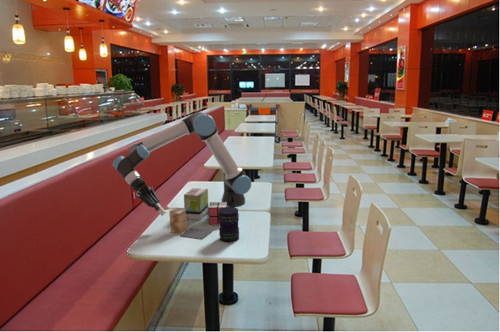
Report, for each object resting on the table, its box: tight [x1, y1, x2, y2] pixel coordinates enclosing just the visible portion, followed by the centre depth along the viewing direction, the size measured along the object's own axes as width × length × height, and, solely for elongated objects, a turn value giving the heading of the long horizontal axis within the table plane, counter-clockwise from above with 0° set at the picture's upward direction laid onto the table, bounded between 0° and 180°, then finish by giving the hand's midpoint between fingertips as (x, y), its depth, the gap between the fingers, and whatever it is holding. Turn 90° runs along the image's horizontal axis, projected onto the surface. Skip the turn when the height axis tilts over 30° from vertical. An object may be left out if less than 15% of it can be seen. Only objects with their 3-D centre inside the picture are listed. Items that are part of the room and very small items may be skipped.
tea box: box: [183, 187, 209, 221], centre depth 230 cm, size 15×10×15 cm
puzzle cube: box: [208, 201, 229, 226], centre depth 220 cm, size 10×10×10 cm
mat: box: [179, 227, 213, 240], centre depth 204 cm, size 13×11×1 cm
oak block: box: [168, 207, 188, 235], centre depth 207 cm, size 6×6×12 cm
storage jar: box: [218, 206, 240, 244], centre depth 196 cm, size 10×10×15 cm
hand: (163, 213), depth 209 cm, fingers closed
